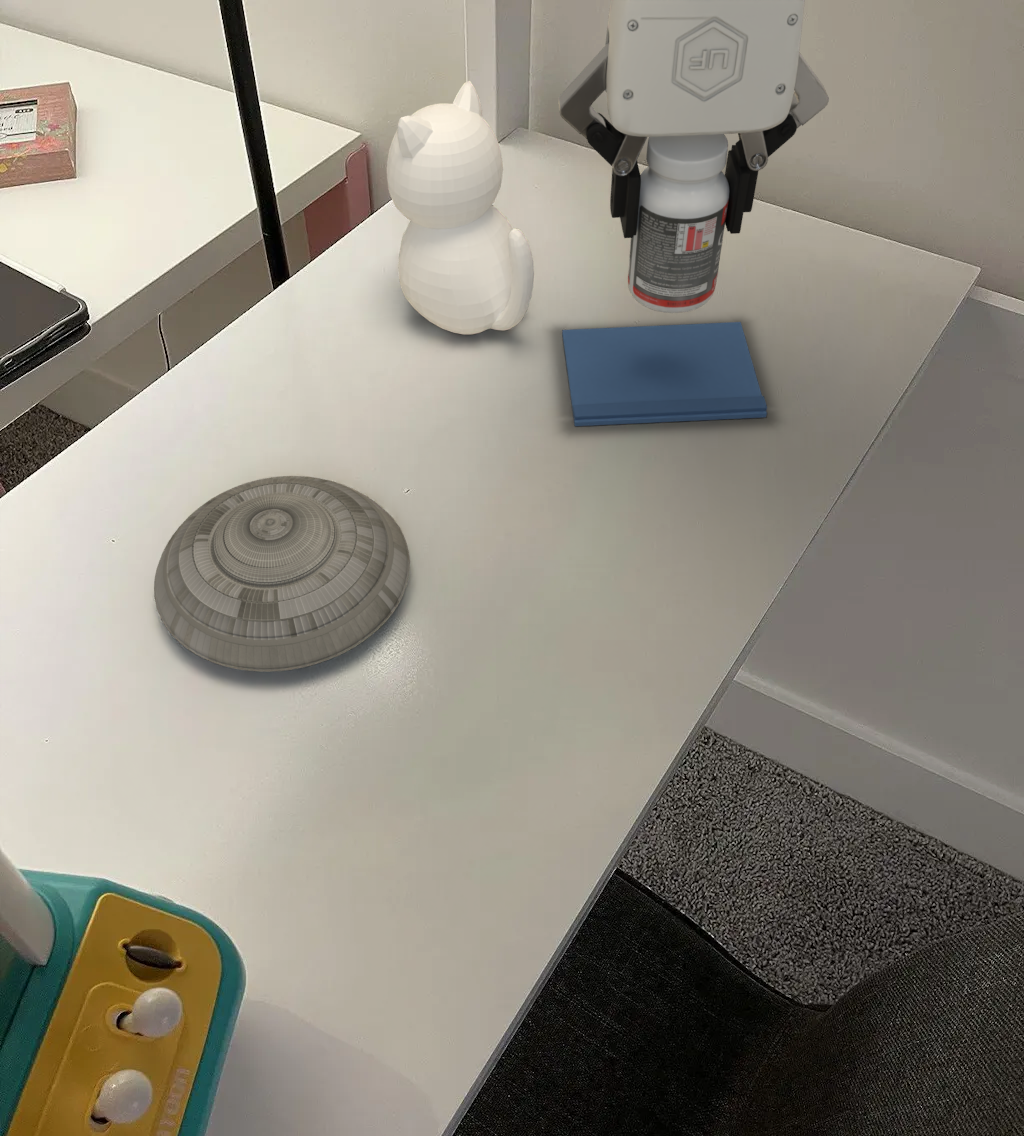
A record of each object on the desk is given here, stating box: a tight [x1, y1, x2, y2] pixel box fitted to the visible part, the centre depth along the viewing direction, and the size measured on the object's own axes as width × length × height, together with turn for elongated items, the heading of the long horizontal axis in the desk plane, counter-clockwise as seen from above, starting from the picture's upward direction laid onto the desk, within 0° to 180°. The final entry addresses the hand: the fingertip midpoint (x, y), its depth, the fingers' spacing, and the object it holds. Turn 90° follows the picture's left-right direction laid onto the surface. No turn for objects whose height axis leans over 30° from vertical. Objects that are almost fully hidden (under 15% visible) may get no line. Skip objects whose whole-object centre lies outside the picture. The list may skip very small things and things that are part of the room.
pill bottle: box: [627, 134, 729, 314], centre depth 70 cm, size 6×6×10 cm
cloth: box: [561, 321, 768, 427], centre depth 79 cm, size 13×10×1 cm
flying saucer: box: [153, 475, 411, 673], centre depth 66 cm, size 15×15×6 cm
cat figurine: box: [386, 80, 535, 335], centre depth 77 cm, size 9×12×15 cm
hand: (678, 220), depth 70 cm, fingers closed on pill bottle, 5 cm apart
